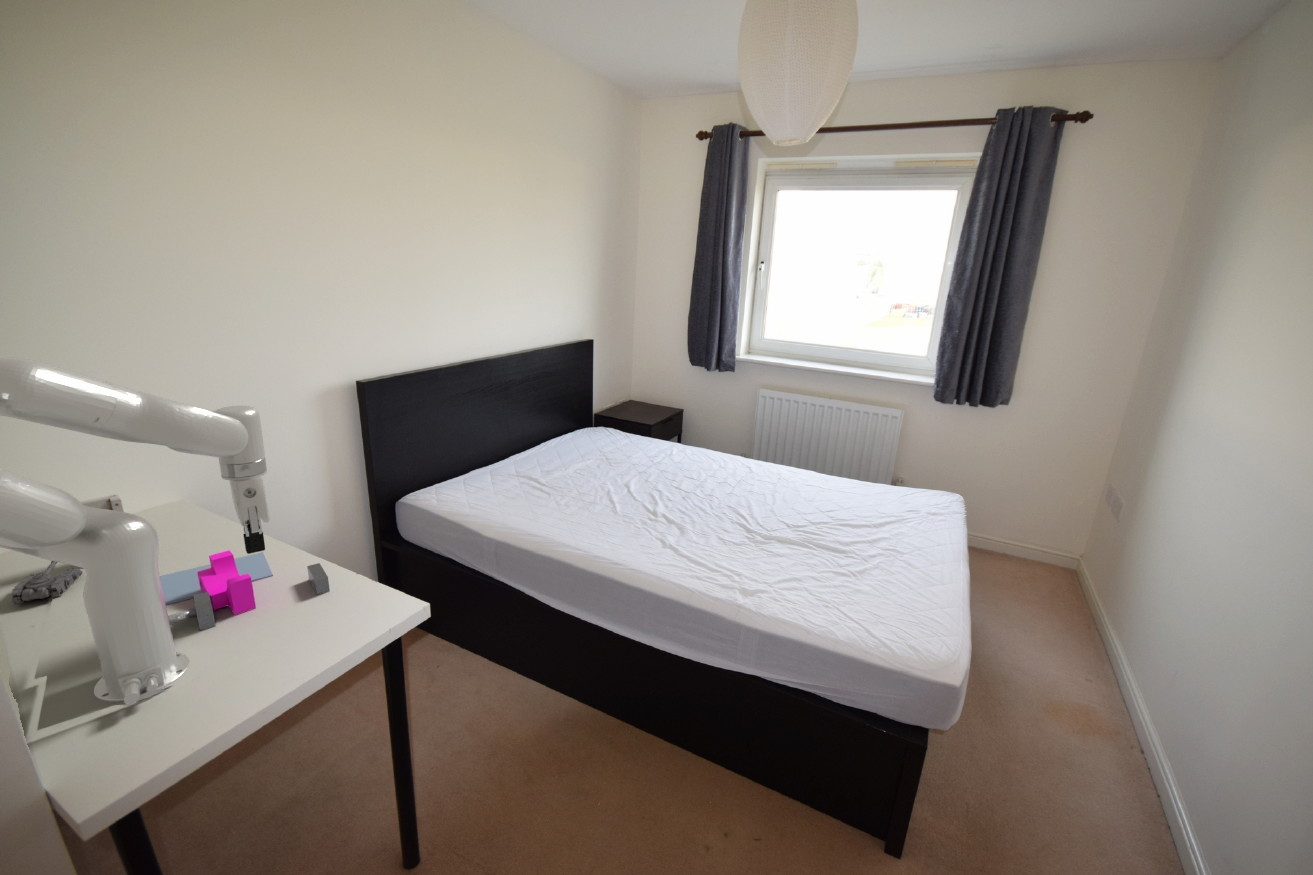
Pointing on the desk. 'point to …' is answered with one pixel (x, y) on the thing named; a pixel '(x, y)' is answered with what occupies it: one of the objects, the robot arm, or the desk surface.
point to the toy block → (227, 584)
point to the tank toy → (44, 584)
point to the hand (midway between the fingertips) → (255, 550)
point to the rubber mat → (187, 581)
